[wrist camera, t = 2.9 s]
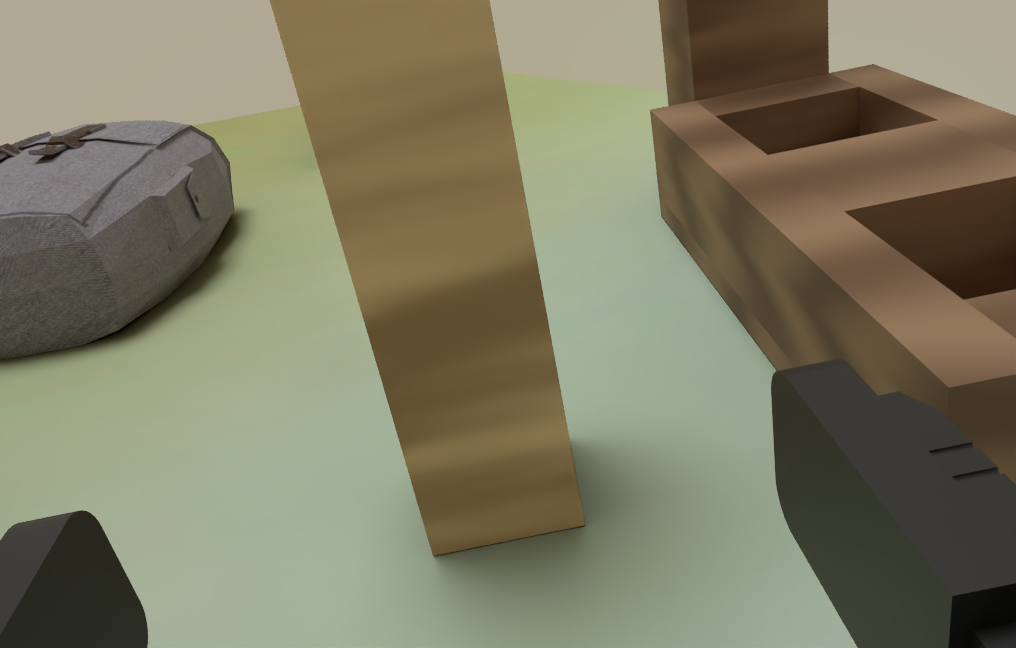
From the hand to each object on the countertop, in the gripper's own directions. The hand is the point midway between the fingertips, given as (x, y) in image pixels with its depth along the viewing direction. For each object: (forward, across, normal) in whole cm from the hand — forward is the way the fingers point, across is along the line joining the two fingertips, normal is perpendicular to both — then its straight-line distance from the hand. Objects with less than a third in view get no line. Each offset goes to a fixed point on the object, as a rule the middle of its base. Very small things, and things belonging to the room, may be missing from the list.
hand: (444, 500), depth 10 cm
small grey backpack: (+37, +20, +9) cm, 43 cm away
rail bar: (+11, 0, +8) cm, 14 cm away
